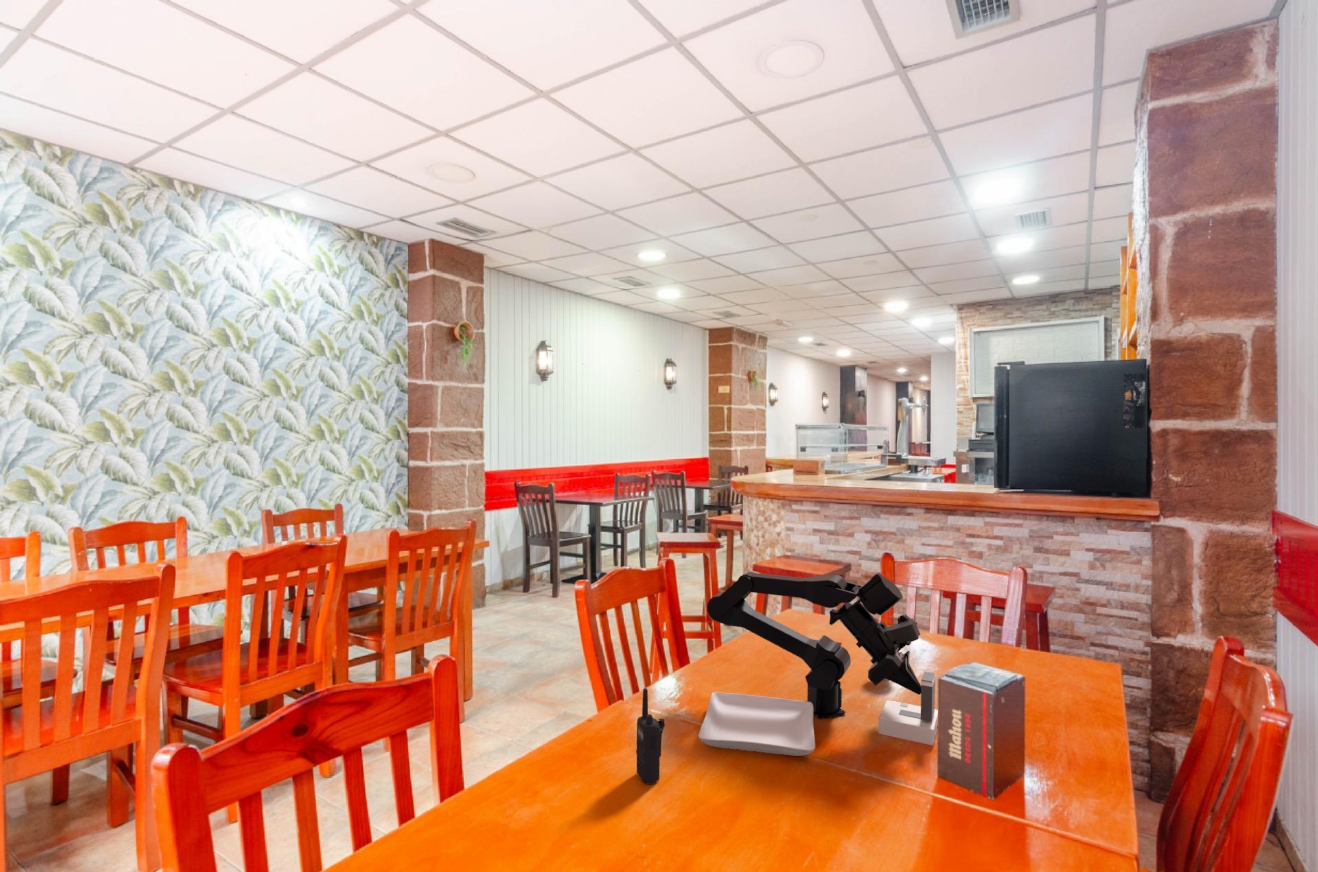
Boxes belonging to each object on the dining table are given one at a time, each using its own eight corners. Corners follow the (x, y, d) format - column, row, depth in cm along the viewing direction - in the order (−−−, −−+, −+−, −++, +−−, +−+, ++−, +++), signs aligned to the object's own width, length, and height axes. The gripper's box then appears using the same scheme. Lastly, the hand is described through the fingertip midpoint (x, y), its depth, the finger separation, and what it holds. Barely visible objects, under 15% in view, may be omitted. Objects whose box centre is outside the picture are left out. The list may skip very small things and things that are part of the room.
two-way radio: (633, 771, 116) (634, 685, 116) (657, 766, 118) (658, 682, 117) (644, 787, 111) (645, 697, 111) (669, 782, 113) (670, 694, 112)
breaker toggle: (920, 719, 130) (921, 679, 130) (923, 709, 135) (924, 671, 134) (931, 721, 129) (932, 681, 129) (934, 711, 134) (935, 673, 133)
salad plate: (815, 767, 119) (815, 748, 119) (697, 754, 123) (697, 735, 123) (813, 716, 140) (813, 699, 140) (711, 706, 144) (711, 690, 144)
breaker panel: (878, 733, 131) (878, 717, 131) (886, 713, 140) (887, 699, 140) (933, 745, 127) (933, 729, 127) (938, 724, 136) (938, 709, 136)
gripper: (887, 616, 126) (949, 686, 121) (901, 594, 143) (957, 655, 138) (843, 650, 130) (902, 719, 125) (863, 625, 147) (915, 685, 142)
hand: (921, 692), depth 132 cm, fingers closed, pressing on breaker toggle
